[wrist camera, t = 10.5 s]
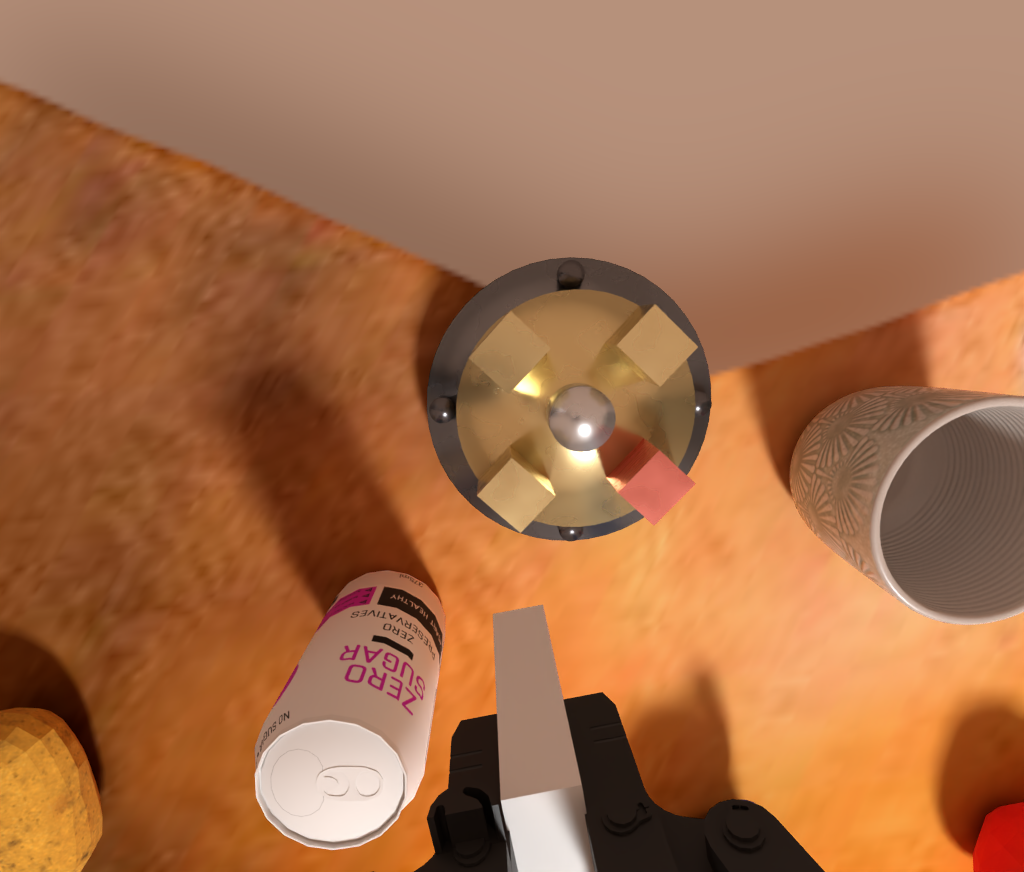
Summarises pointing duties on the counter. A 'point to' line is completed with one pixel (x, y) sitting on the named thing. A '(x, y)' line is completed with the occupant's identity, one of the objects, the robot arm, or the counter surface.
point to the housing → (573, 408)
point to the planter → (921, 496)
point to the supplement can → (354, 715)
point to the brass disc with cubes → (590, 360)
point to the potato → (45, 795)
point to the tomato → (1001, 841)
